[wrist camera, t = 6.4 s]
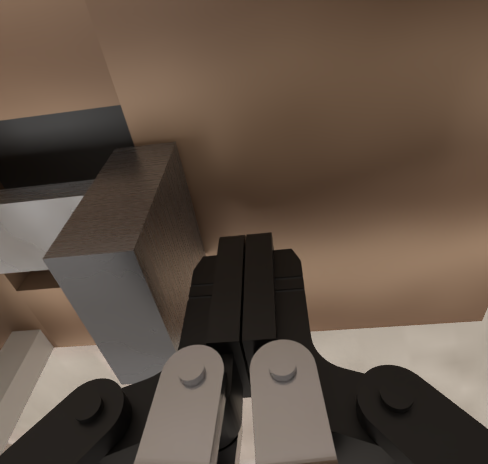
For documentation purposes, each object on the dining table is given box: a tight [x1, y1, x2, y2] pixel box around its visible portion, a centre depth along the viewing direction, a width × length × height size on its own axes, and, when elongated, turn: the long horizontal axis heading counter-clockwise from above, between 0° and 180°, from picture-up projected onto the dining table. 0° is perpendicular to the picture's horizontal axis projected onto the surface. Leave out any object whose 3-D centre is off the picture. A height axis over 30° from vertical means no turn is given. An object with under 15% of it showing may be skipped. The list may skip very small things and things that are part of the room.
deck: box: [0, 0, 488, 350], centre depth 16 cm, size 16×40×3 cm, turn 98°
